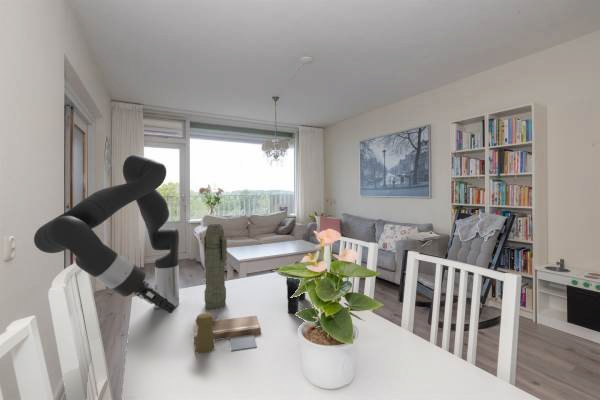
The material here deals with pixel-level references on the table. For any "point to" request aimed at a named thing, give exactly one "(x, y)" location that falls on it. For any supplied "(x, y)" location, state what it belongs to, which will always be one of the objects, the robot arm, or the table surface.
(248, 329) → the walnut board
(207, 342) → the olive game pawn
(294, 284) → the ceramic cat
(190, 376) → the table surface
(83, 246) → the robot arm
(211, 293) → the thermos
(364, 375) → the table surface
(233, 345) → the slate end mark
